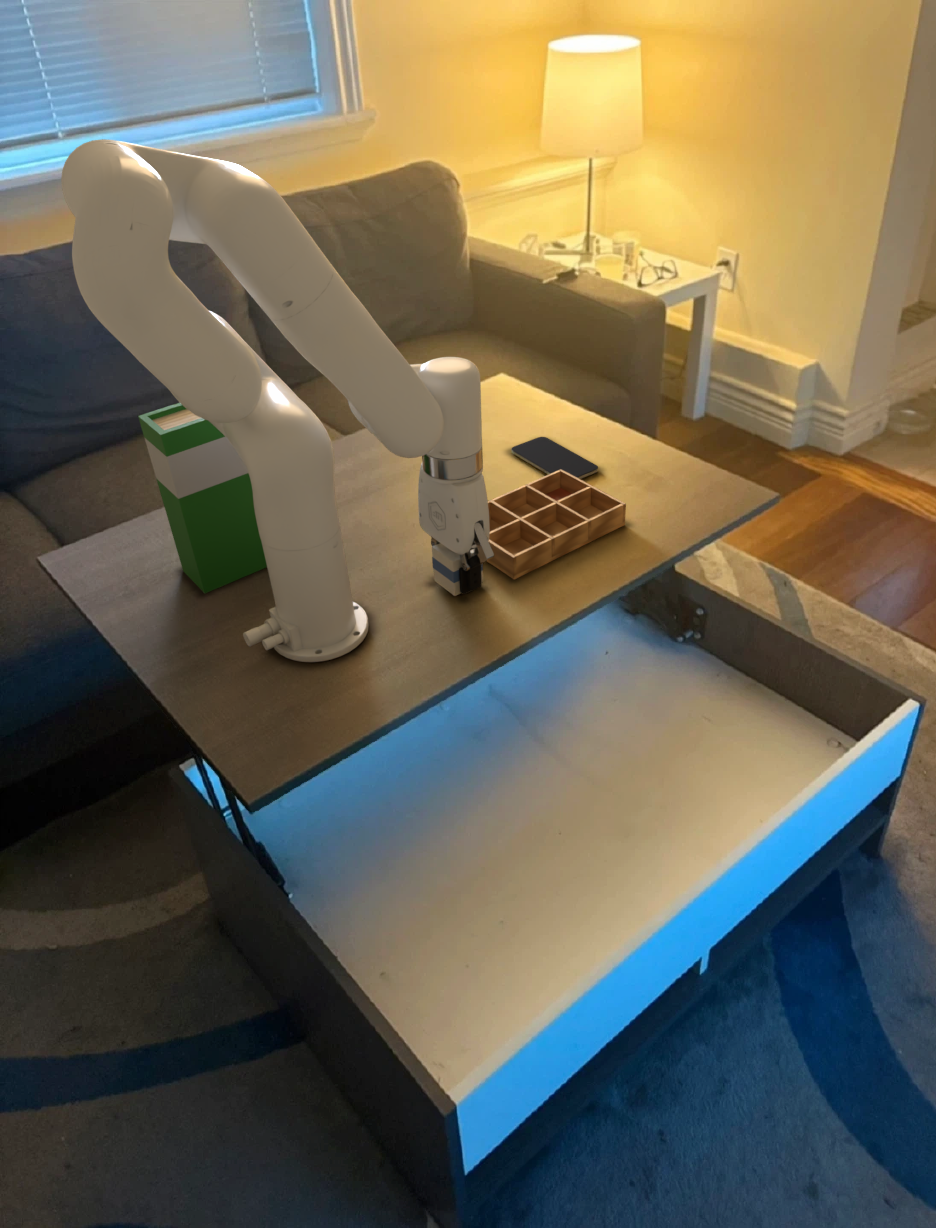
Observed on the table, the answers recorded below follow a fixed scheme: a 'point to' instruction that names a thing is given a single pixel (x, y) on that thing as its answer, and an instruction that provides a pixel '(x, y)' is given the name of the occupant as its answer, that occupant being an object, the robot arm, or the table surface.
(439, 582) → the milk carton
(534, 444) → the smartphone
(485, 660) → the table surface
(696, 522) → the table surface
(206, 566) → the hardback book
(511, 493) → the compartment tray
